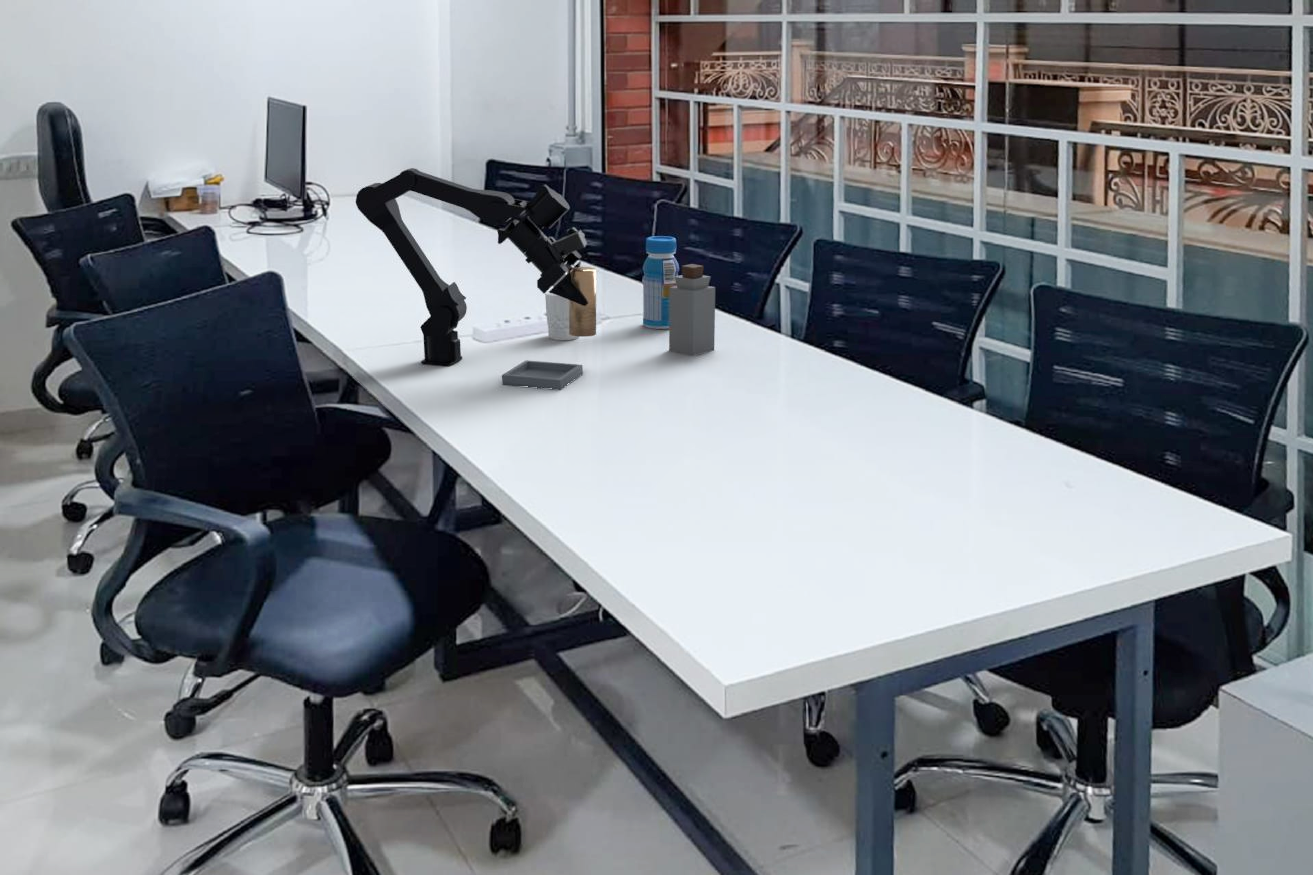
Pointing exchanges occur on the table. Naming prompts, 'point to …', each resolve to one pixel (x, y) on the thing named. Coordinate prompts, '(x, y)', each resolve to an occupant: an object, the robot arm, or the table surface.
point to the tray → (542, 374)
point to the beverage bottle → (658, 280)
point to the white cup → (558, 317)
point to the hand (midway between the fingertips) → (589, 301)
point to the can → (579, 315)
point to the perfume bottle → (692, 312)
